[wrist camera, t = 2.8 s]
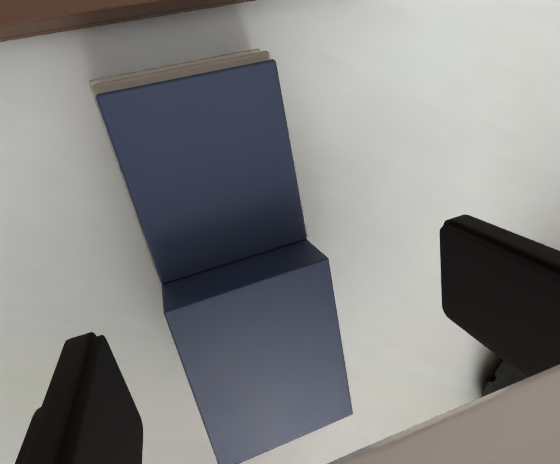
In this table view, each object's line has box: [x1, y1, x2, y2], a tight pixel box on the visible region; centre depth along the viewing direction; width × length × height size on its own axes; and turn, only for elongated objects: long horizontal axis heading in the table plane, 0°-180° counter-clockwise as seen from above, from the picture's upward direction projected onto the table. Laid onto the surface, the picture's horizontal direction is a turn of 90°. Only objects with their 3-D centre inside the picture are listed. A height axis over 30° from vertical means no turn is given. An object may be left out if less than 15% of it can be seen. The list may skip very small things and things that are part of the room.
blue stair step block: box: [89, 49, 353, 464], centre depth 15 cm, size 6×14×6 cm, turn 12°
